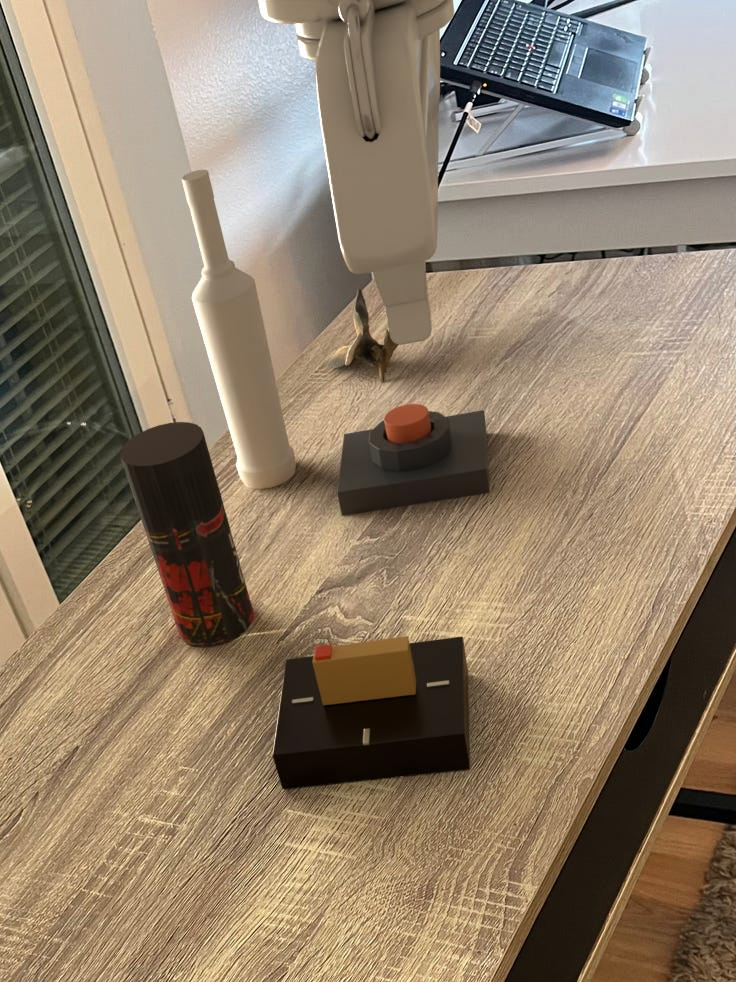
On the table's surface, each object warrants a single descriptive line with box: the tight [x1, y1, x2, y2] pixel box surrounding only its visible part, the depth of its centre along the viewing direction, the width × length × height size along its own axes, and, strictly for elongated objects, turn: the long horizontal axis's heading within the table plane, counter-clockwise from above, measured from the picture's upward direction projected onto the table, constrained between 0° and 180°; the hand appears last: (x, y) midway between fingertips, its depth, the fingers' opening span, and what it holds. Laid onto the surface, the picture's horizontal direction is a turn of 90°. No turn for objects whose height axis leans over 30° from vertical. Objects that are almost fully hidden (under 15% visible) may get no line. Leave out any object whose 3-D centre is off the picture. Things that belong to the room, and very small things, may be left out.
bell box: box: [336, 409, 491, 517], centre depth 106 cm, size 12×10×4 cm
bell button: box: [383, 403, 431, 444], centre depth 104 cm, size 4×4×2 cm
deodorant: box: [119, 421, 255, 648], centre depth 93 cm, size 6×6×15 cm
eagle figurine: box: [325, 288, 399, 384], centre depth 122 cm, size 8×7×9 cm
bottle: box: [181, 169, 297, 490], centre depth 104 cm, size 5×5×25 cm
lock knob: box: [312, 635, 416, 705], centre depth 81 cm, size 6×2×4 cm, turn 84°
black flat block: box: [271, 636, 471, 790], centre depth 83 cm, size 12×10×3 cm
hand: (414, 292), depth 59 cm, fingers open, 8 cm apart
